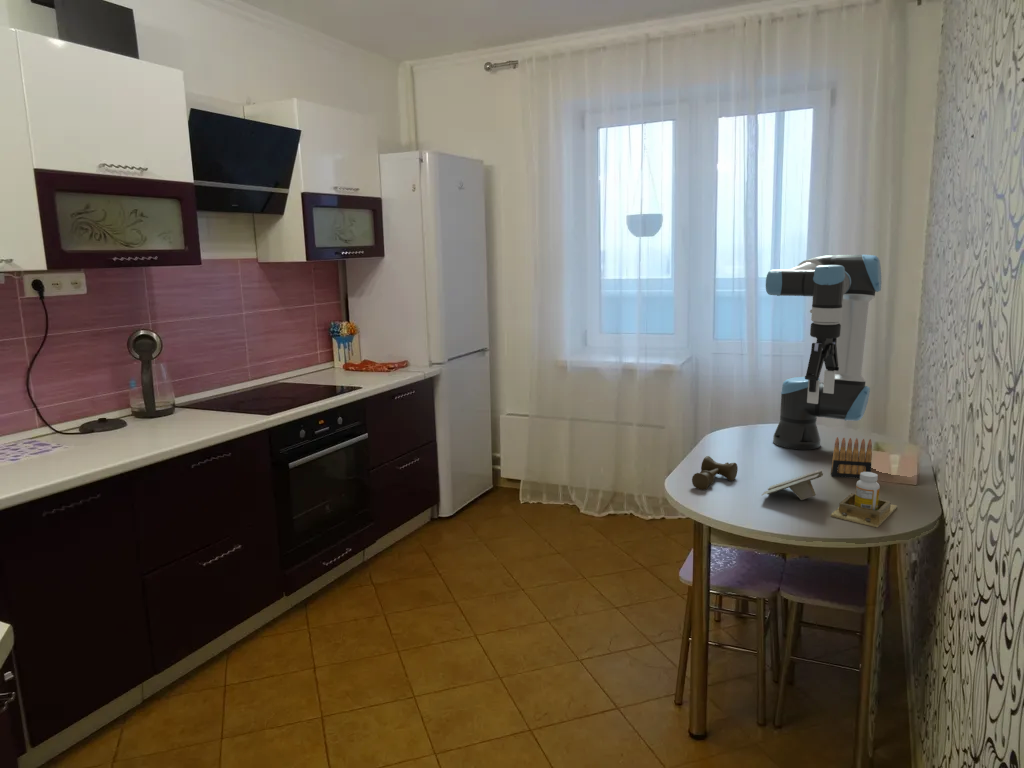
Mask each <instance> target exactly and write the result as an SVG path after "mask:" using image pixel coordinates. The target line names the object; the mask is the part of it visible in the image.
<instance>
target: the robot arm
mask: <svg viewBox="0 0 1024 768" xmlns="http://www.w3.org/2000/svg"><path fill="white" fill-rule="evenodd" d="M881 290H882V268H881V261H880V258H879V257H878V256H877V255H875V254H874V255H873V254H863V253H861V254H825V255H819V256H816V257H815V256H814V257H812V258H808V259H804V260H802V261H801V262H799V263H798V265H797V266H794V267H790V268H787V269H780V268H777V269H770V270H769V271H768V272H767V274H766V278H765V291H766V294H768V295H769V296H776V297H780V296H781V297H782V296H784V297H787V296H788V297H812V305H811V309H810V310H809V312H810V314H811V319H810V320H811V321H812V322H811V324H810V332H809V334H810V335H809V336H810V337H812V338H816V342H812V343H811V349H810V350H811V351H810V355H809V359H808V364H807V369H806V374H805V376H796V377H791V378H787V379H785V380H784V381H783V382H782V386H781V391H780V394H781V395H780V396H781V397H780V410H779V411H780V412H779V414H780V416H779V422H778V425H777V427H776V429H775V431H774V434H773V440H772V443H773V444H775V445H776V446H778V447H781V448H785V449H790V450H791V449H792V450H798V451H799V450H801V451H802V450H803V451H804V450H805V451H807V450H808V451H809V450H814V449H815V450H816V449H818V448H820V447H821V436H820V433H819V429H818V425H817V418H825V419H833V420H843V421H853V422H858V421H860V420H861V419H862V418H863V417H864V415H865V411H866V409H867V405H868V402H869V397H870V392H871V388H870V387H869V386H868V385H866V383H867V380H865V378H864V377H863V376H862V372H863V371H862V370H863V362H864V361H863V360H864V351H865V343H866V342H865V341H866V332H867V323H868V314H869V305H870V302H871V301H872V300H873V299H874V298H875V297H876V293H878V292H881ZM823 366H825V369H824V374H823V382H821V380H820V374H821V372H822V369H823Z"/></svg>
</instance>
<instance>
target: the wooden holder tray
mask: <svg viewBox="0 0 1024 768" xmlns="http://www.w3.org/2000/svg"><path fill="white" fill-rule="evenodd" d="M891 503H892V502H891V501H889V500H885V499H880V498H879V499H878V510H877V511H876V510H872V509H867V508H863V507H858V506H854V504H855V493H853V492H851V493H850V494H849V495H848V496H846V497H845V498H844V499H843V500H842V501H840V502H839V505H838V508H836V509H835V510H834V511H833V512H832V513H831V514H830V517H831V518H837V519H840V520H845V521H847V522H853V523H857V524H861V525H865V526H870V527H873V528H879V527H880V526H881V525H882V524H883V523H884V522H885V521H886V519H887V518H889V517H890V515H892V514H893V513H894V512H895V511H896V509H897V508H898V505H897V504H891ZM887 520H888V519H887Z"/></svg>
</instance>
